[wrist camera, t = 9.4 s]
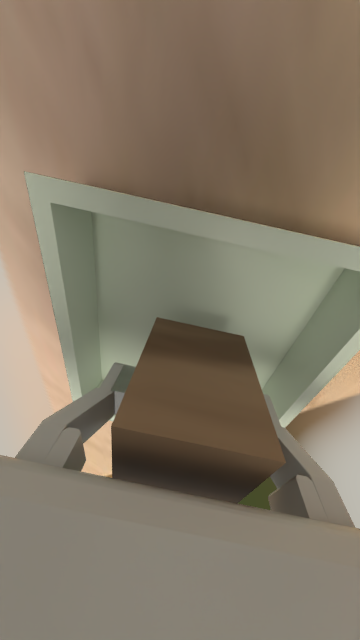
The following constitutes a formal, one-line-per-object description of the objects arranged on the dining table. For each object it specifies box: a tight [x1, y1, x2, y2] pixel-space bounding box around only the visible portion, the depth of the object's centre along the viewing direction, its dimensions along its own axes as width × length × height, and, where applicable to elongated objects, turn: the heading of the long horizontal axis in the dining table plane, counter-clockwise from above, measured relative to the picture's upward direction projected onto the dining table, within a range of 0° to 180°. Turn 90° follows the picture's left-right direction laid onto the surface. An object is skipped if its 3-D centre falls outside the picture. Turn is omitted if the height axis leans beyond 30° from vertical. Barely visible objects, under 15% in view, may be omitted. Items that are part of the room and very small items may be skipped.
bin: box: [24, 171, 360, 428], centre depth 12 cm, size 16×16×4 cm
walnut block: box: [111, 317, 286, 504], centre depth 9 cm, size 5×5×6 cm
